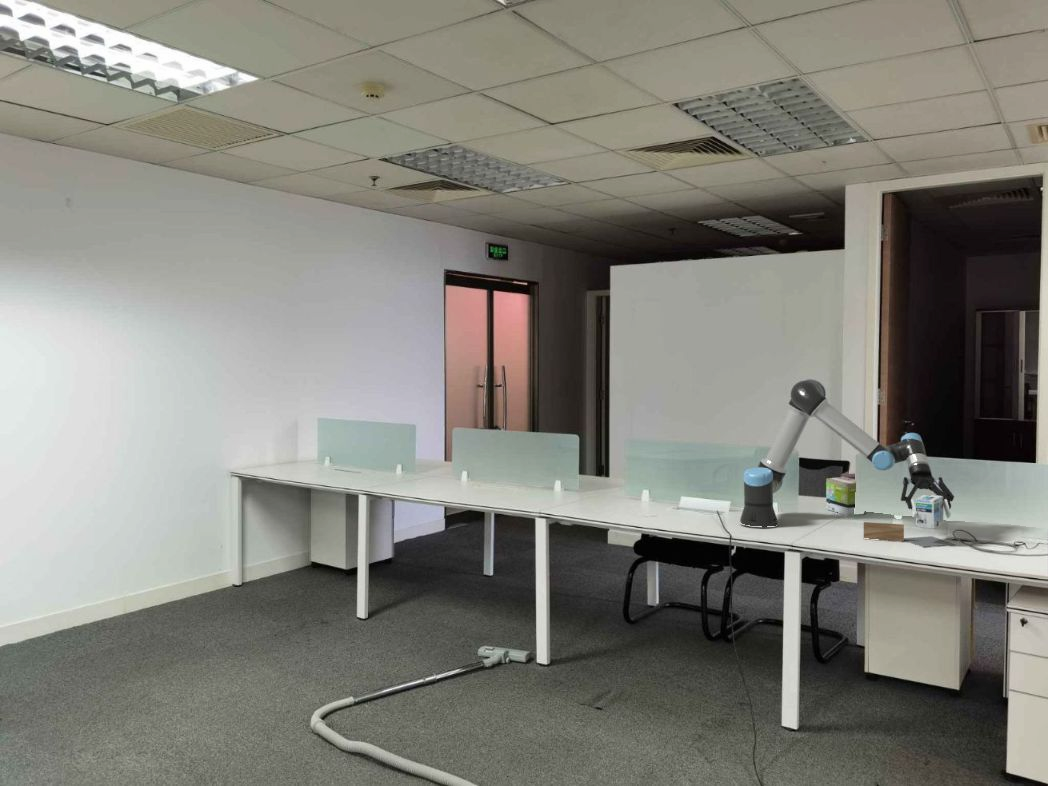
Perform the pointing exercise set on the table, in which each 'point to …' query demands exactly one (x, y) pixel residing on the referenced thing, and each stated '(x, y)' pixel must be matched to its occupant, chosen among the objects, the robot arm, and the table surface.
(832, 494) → the tea box
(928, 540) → the charcoal mat
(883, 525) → the oak screen
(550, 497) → the table surface
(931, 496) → the light bulb box
